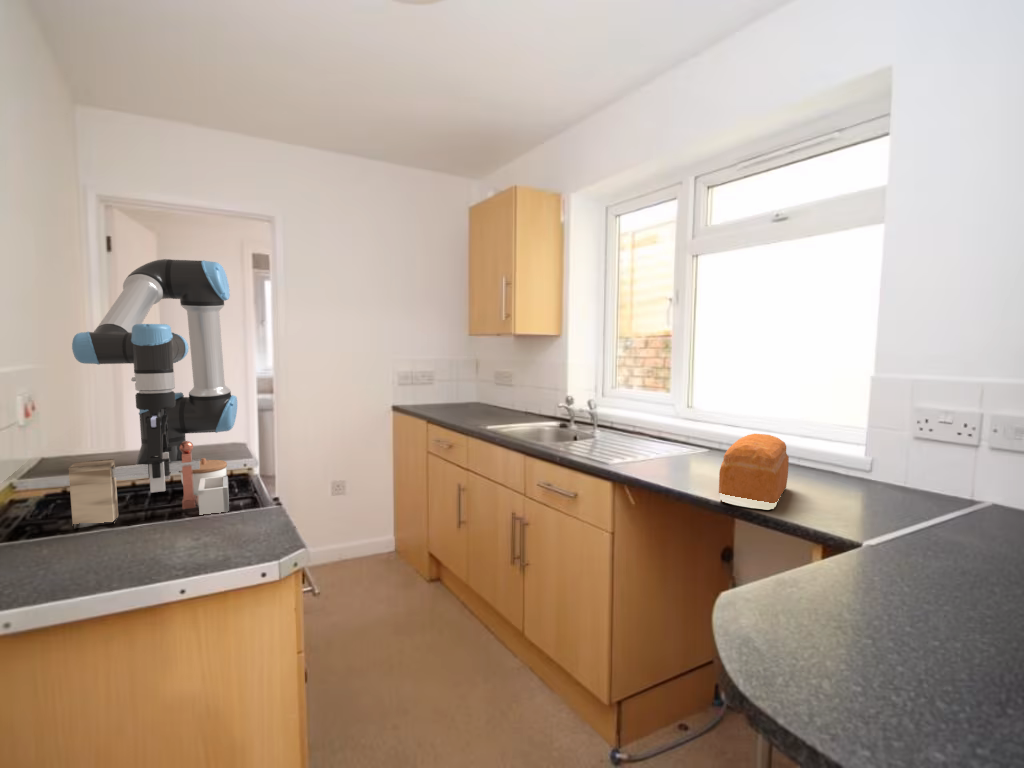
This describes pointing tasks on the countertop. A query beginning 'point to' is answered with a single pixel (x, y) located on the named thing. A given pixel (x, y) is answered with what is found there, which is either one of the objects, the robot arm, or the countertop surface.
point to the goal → (213, 495)
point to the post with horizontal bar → (185, 466)
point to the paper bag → (93, 492)
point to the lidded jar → (207, 471)
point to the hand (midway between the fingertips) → (160, 485)
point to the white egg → (197, 500)
